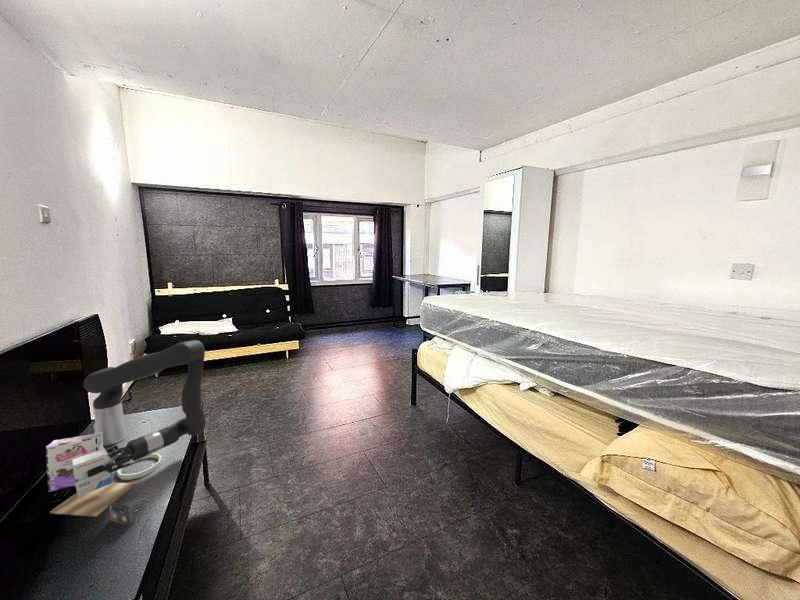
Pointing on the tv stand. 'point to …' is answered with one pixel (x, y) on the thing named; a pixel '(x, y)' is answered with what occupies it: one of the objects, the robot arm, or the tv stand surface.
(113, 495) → the wooden board
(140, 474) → the ceramic dish
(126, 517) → the mini dv tape
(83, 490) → the ink box
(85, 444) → the candy box
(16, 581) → the tv stand surface
